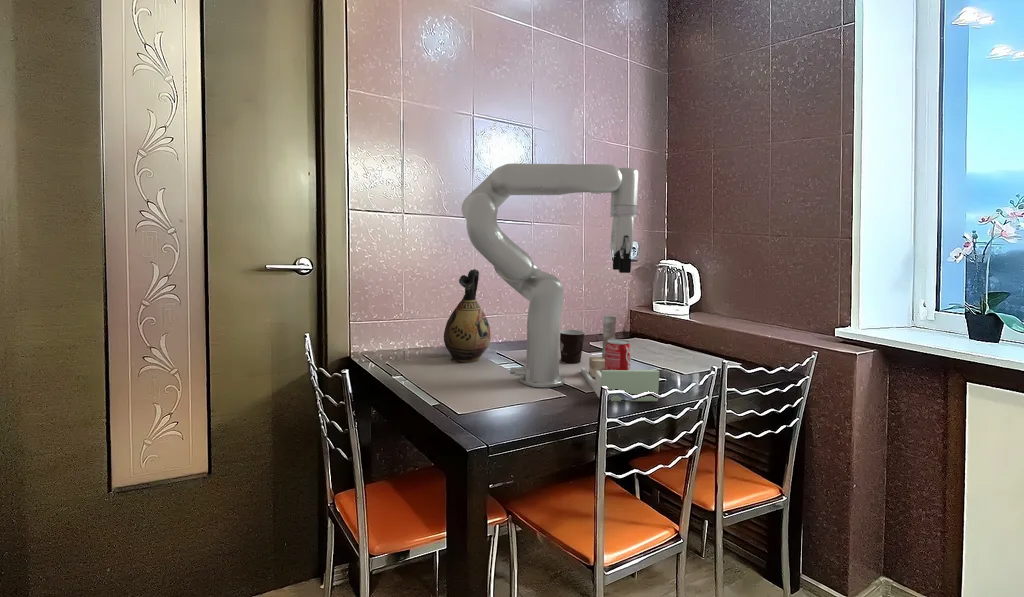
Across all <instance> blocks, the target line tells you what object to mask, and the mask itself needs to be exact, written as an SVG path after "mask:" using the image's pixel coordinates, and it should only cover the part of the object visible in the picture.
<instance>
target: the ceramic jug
mask: <svg viewBox="0 0 1024 597" xmlns="http://www.w3.org/2000/svg"><path fill="white" fill-rule="evenodd" d="M479 279H480V271H479V270H478V269H470V270H469V271H468V273H467V275H465V274H463V275H461V276H460V277H459V280H458V283H459V284H460V286H461V287H463V288H464V295H463V297H462V299H461V300H460V301H459V303H458V304H457V305H456V307H455V308H454V310H453V311H452V312H451V314H450V316H449V317H448V319H447V321H446V324H445V328H444V331H443V342H444V346H445V348H446V350H447V351H448V353H449V354H450V356H451V361H453V362H455V363H459V364H460V363H475V362H476V363H477V362H478V361H479V360H480V358H481V357H482V356H483V354H484V353H485V352H486V351H487V349H488V348H489V345H490V343H491V336H492V334H491V327H490V323H489V320H488V318H487V317H486V314H485V313H484V311H483V308H482V307H481V306H480V304H479V302H478V301H477V297H476V296H477V291H478V285H479Z"/></svg>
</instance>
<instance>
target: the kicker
mask: <svg viewBox="0 0 1024 597" xmlns="http://www.w3.org/2000/svg"><path fill="white" fill-rule="evenodd" d="M616 323H617V316H616V315H614V314H603V325H602V326H603V330H602V351H601V352H602V353H601V356H589V363H588V367H589V368H588V373H589V375H590V376H591V378H596V371H600V372H601V373H602V370H605V349H606V345H607V343H608V342H607V341H608V340H611V339H616V325H617V324H616Z"/></svg>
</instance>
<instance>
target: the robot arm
mask: <svg viewBox="0 0 1024 597" xmlns="http://www.w3.org/2000/svg"><path fill="white" fill-rule="evenodd" d="M575 193H576V194H577V193H579V194H580V193H590V194H592V195H593V194H595V195H599V194H608V193H610V211H609V212H610V215H609V216H610V218H612V222H611V233H610V244H609V245H610V246H609V248H610V250H611V251H613V256H612V270H616V271H618V273H620V274H623V273H624V274H631V271H632V269H631V268H632V251H633V247H634V246H633V245H634V218H637V217H638V197H639V196H638V195H639V171H638V169H637V168H634V167H617V166H615V165H613V164H609V163H608V164H605V163H603V164H602V163H600V164H597V163H595V164H593V163H586V164H585V163H577V164H572V163H570V164H569V163H506V164H503V165H501V166H499V167H496V168H495V169H493V171H491V173H490V174H489V175H488V176H487V177H486V178H484V180H483V181H481V183H480V184H479V185H477V186H476V188H474V189H473V191H471V192H470V193H469V194H468V195H467V196H466V197H465V198H464V200H463V202H462V203H461V214H462V217H463V218H464V219H465V220H466V231H467V236H468V238H469V240H470V243H471V244H472V246H473V247H474V249H476V251H477V252H478V253H479V254H481V255H482V257H483V258H485V259H486V260H487V262H489V263H490V264H491V265H492V266H493V268H494V270H495V273H496V274H497V275H498V277H500V279H502V280H503V281H504V282H505V283H506V284H508V285H509V286H510V287H511V288H513V289H514V291H516V292H517V293H518V294H520V295H521V296H522V298H525V300H527V301H529V305H528V310H527V316H526V317H527V320H526V321H527V322H526V356H525V357H526V363H525V364H524V366H520V367H509V368H510V370H509V372H510V373H509V374H510V375H514V376H518V377H520V382H521V383H522V384H524V385H526V386H529V387H533V388H544V389H545V388H556V387H560V386H562V385H563V384H564V383H565V378H564V377H563V376H562V375H560V357H561V352H560V330H561V323H562V322H561V321H562V311H563V310H562V309H563V303H564V297H565V289H564V286H563V285H564V284H563V283H562V282H561V280H560V279H559V277H557V276H556V275H554V274H552V273H550V272H545V271H543V270H541V269H540V268H539V267H538V266H537V265H536V264H534V261H533V259H532V257H531V255H530V254H529V253H528V252H526V251H525V250H524V249H523V248H521V246H519V245H518V244H516V242H514V241H513V240H512V239H511V238H510V237H509V236H507V234H505V233H504V231H503V230H501V228H500V226H499V224H498V212H499V211H498V210H499V208H500V206H501V205H503V203H504V202H506V201H507V199H508V198H510V196H561V195H568V194H575Z"/></svg>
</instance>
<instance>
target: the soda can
mask: <svg viewBox="0 0 1024 597" xmlns="http://www.w3.org/2000/svg"><path fill="white" fill-rule="evenodd" d="M607 342H608V343H607V345H606V349H605V370H631V363H632V362H631V361H632V360H631V359H632V351H631V350H632V347H631V344H630V341H629V340H627V339H621V338H620V339H619V338H615V339H611V340H608V341H607Z"/></svg>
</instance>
